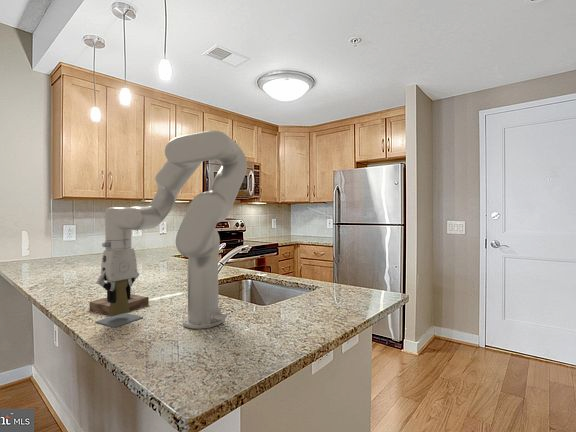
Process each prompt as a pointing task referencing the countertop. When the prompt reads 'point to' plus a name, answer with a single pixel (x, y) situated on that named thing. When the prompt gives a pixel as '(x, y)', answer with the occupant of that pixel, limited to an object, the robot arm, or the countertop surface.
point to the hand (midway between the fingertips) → (119, 299)
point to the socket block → (104, 305)
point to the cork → (120, 299)
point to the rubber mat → (119, 320)
